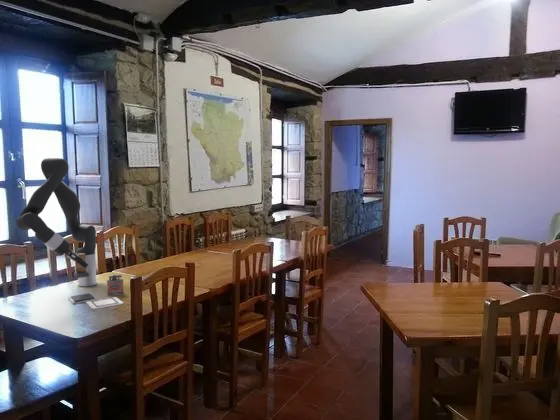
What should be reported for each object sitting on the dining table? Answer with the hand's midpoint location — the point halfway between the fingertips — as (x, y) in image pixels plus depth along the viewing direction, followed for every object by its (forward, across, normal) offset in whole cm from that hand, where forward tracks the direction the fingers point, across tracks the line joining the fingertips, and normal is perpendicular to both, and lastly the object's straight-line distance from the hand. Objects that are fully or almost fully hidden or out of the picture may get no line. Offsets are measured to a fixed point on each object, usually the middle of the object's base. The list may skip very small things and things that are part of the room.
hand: (85, 265), depth 224 cm
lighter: (+22, 0, +2) cm, 22 cm away
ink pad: (+11, 0, +13) cm, 17 cm away
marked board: (+16, -13, +8) cm, 22 cm away
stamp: (+2, 0, +5) cm, 6 cm away
